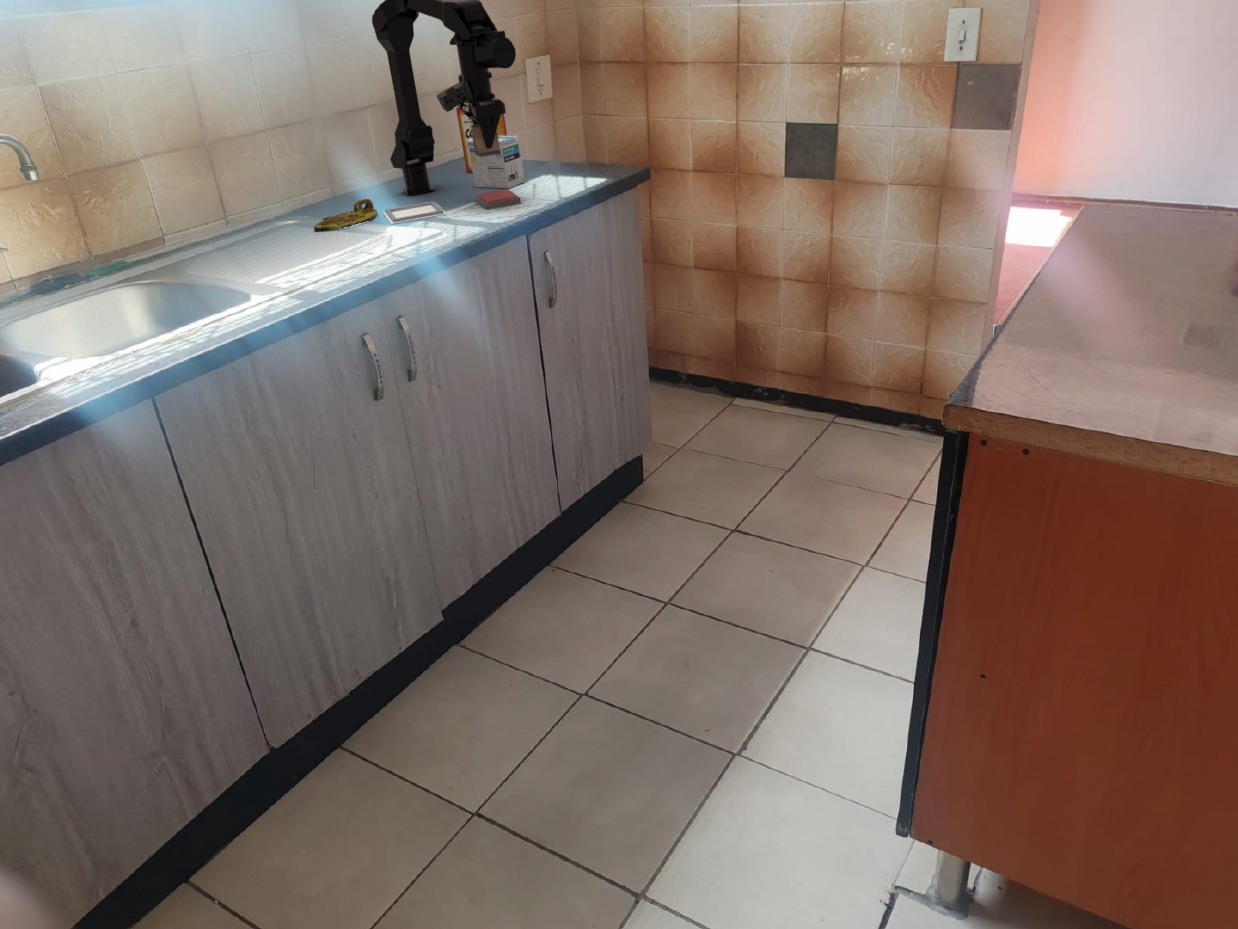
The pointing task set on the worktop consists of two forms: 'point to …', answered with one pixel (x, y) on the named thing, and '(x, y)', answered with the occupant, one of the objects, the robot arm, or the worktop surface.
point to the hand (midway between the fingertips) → (486, 146)
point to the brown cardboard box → (483, 143)
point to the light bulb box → (498, 165)
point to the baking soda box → (467, 134)
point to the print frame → (413, 212)
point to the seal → (349, 217)
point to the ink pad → (497, 199)
